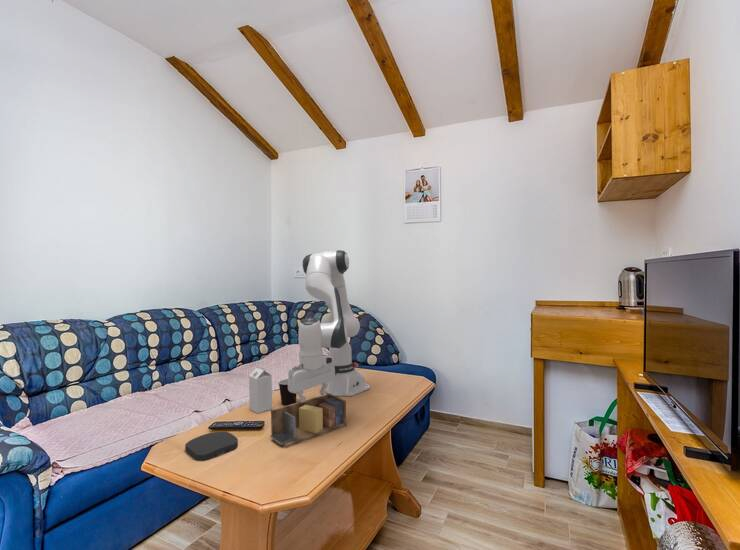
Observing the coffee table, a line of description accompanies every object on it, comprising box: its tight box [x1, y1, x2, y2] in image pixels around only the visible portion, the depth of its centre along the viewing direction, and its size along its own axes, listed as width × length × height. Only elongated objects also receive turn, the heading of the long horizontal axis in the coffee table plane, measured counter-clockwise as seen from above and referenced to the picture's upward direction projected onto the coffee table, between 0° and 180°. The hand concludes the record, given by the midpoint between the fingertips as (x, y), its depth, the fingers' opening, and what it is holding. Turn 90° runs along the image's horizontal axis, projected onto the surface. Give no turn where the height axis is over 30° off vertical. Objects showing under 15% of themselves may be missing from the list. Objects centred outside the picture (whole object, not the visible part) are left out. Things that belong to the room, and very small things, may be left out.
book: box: [299, 405, 323, 433], centre depth 140 cm, size 4×8×8 cm, turn 61°
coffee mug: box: [278, 378, 298, 407], centre depth 172 cm, size 12×9×10 cm
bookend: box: [269, 411, 296, 446], centre depth 133 cm, size 6×8×8 cm
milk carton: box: [248, 365, 273, 414], centre depth 164 cm, size 7×7×19 cm
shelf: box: [270, 393, 347, 449], centre depth 141 cm, size 26×11×10 cm, turn 131°
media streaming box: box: [184, 431, 239, 462], centre depth 129 cm, size 15×15×3 cm
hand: (313, 397), depth 140 cm, fingers open, 8 cm apart
